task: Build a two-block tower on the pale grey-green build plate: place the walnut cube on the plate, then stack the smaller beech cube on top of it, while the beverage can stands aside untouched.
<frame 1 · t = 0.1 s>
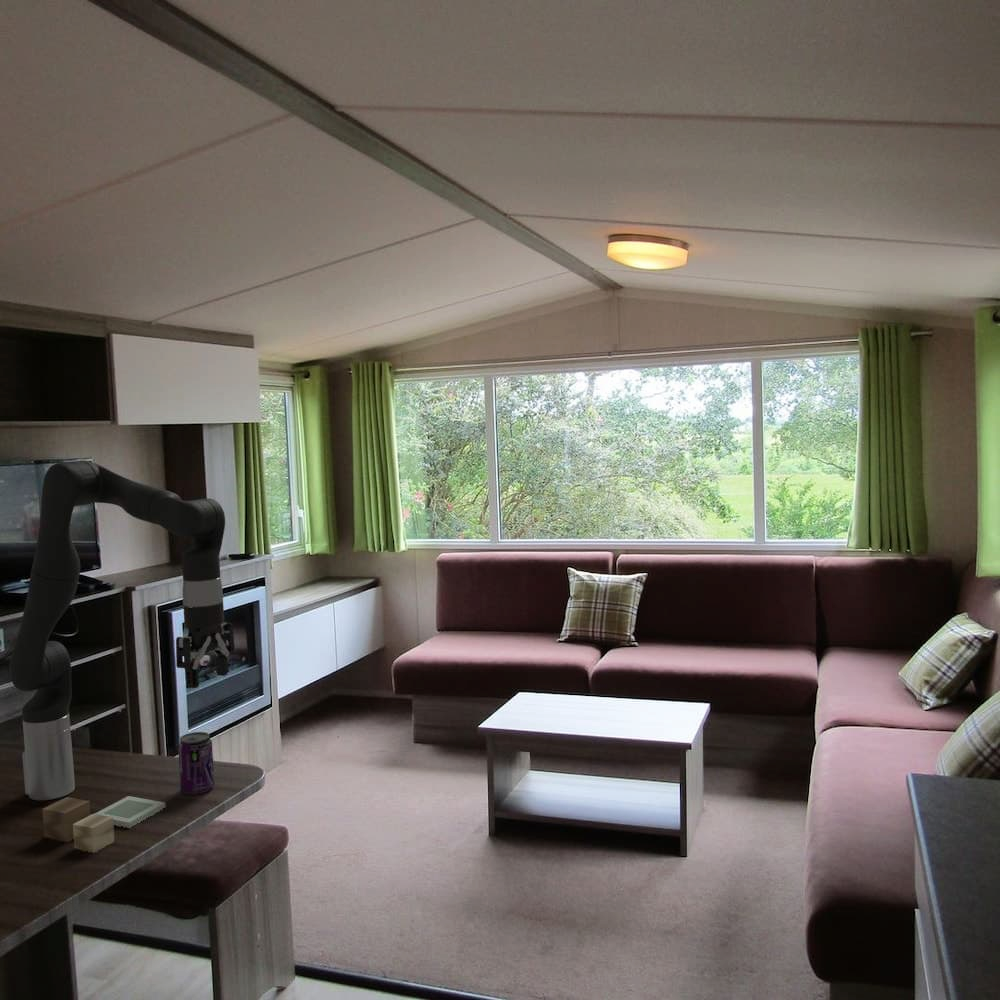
hand: (208, 681, 187), 29 cm above the table, tool pointing down, fingers open, 8 cm apart
walnut cube: (68, 834, 187), on the table
build plate: (129, 814, 195), on the table
beverage can: (198, 790, 207), on the table
beech cube: (94, 845, 182), on the table
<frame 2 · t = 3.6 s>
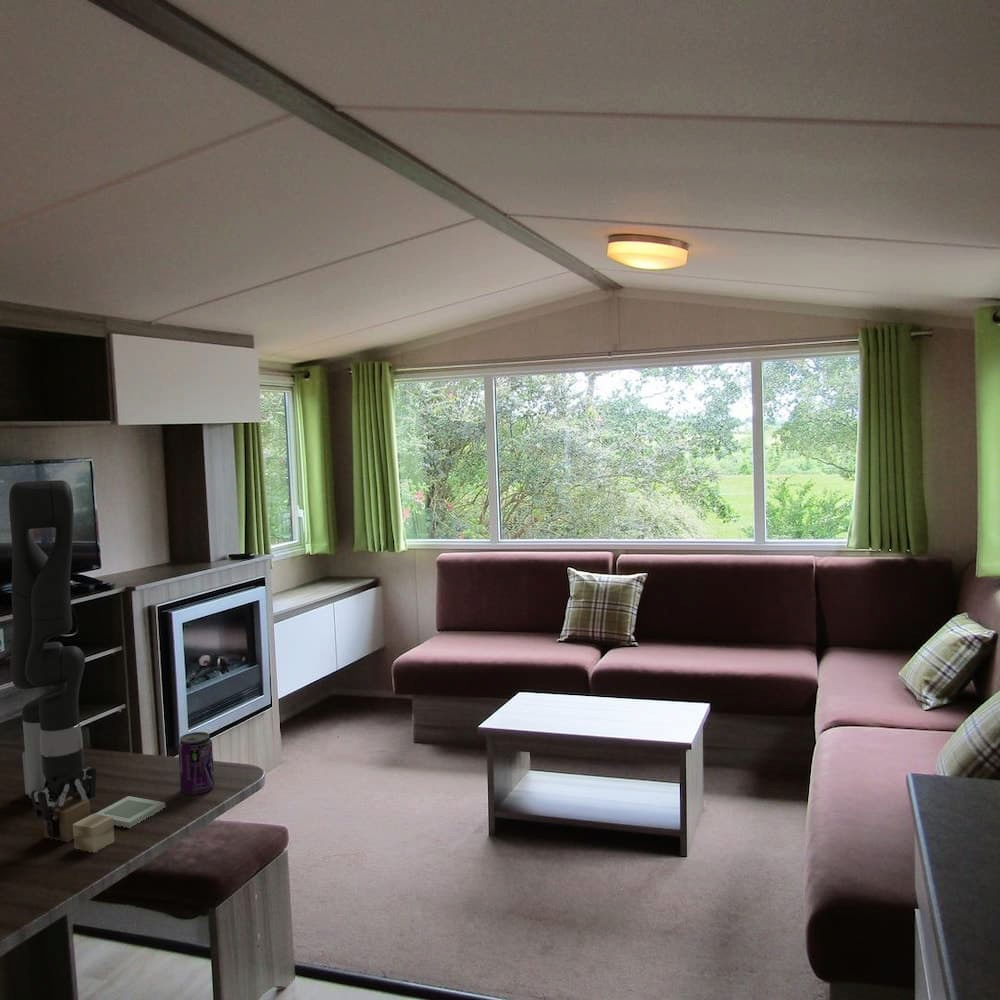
hand: (68, 829, 187), 1 cm above the table, tool pointing down, fingers closed on walnut cube, 6 cm apart
walnut cube: (68, 833, 187), on the table, touching gripper
everything else where it was.
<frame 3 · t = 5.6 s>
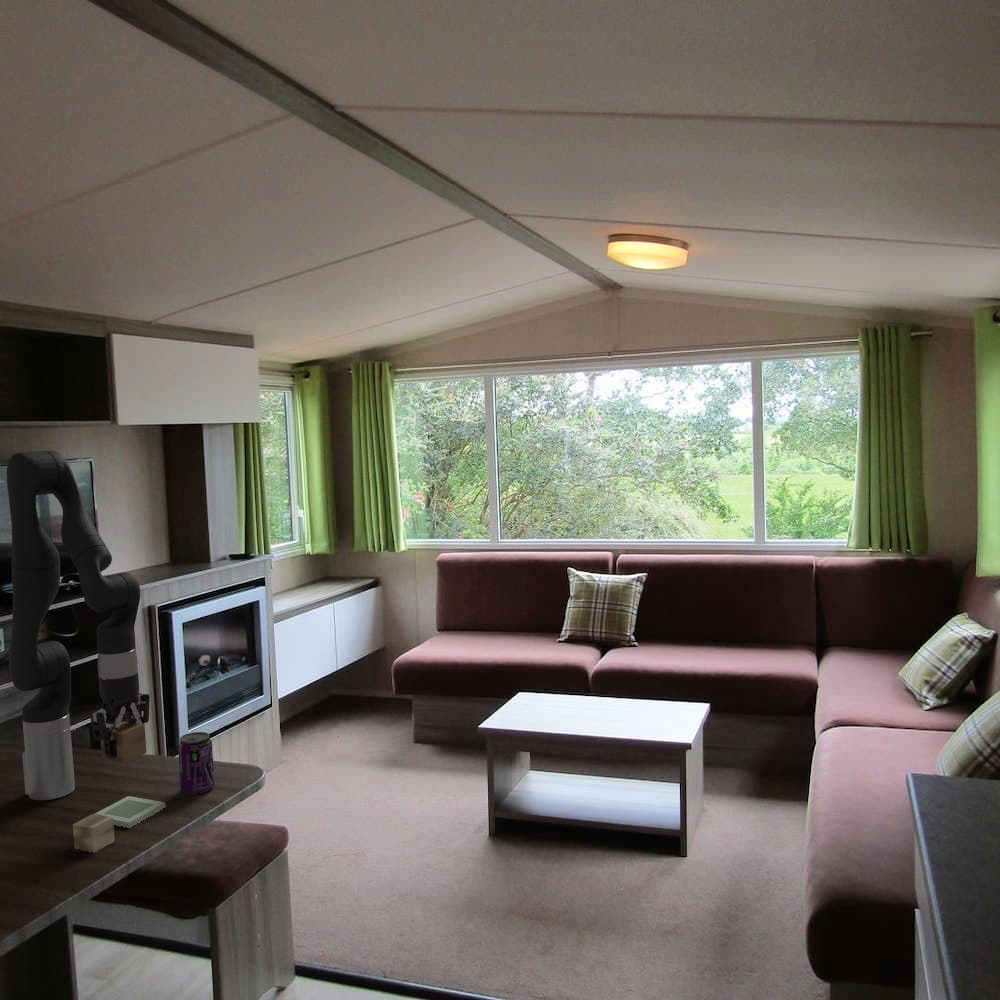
hand: (123, 751, 194), 14 cm above the table, tool pointing down, fingers closed on walnut cube, 6 cm apart
walnut cube: (124, 755, 194), point 13 cm above the table, touching gripper
everything else where it was.
when the fingers open (3 cm above the table, at t = 8.1 s): walnut cube stays where it is, resting on build plate.
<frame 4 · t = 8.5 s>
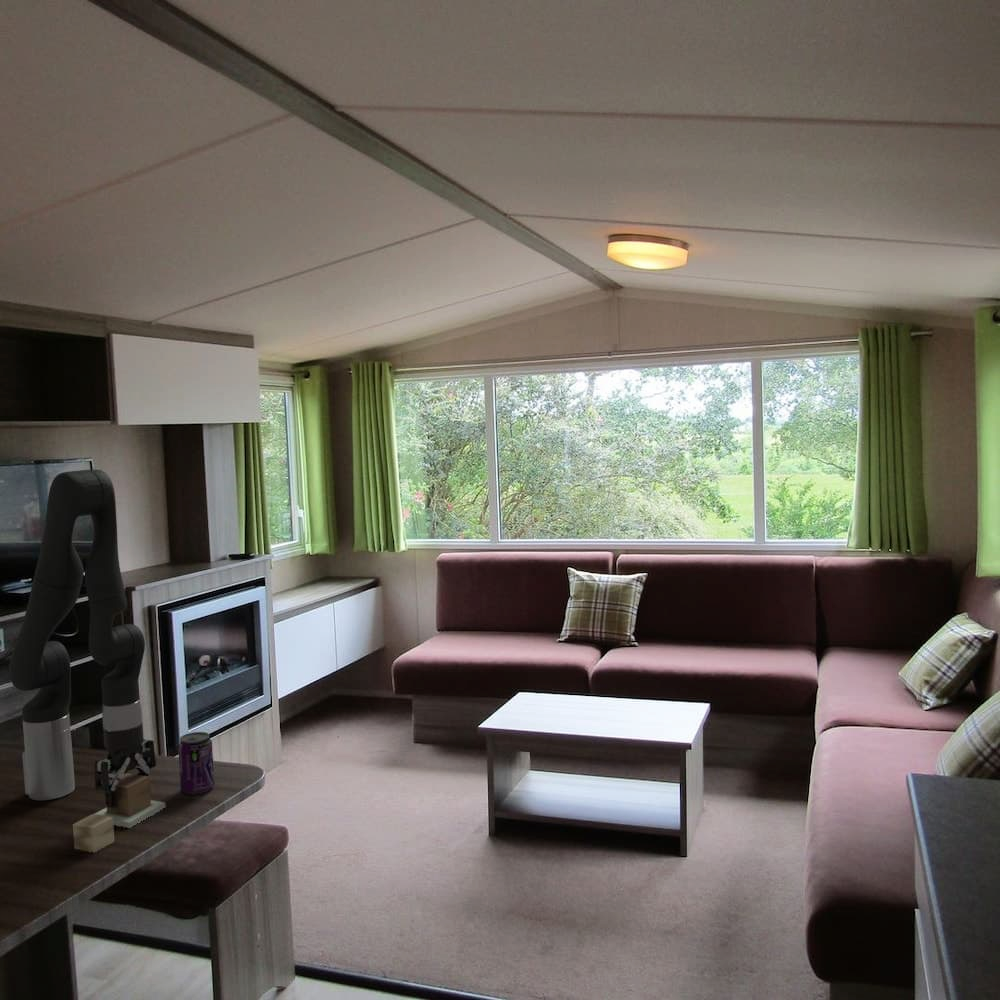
hand: (128, 799, 195), 3 cm above the table, tool pointing down, fingers open, 8 cm apart
walnut cube: (129, 808, 195), point 1 cm above the table, touching build plate
everything else where it was.
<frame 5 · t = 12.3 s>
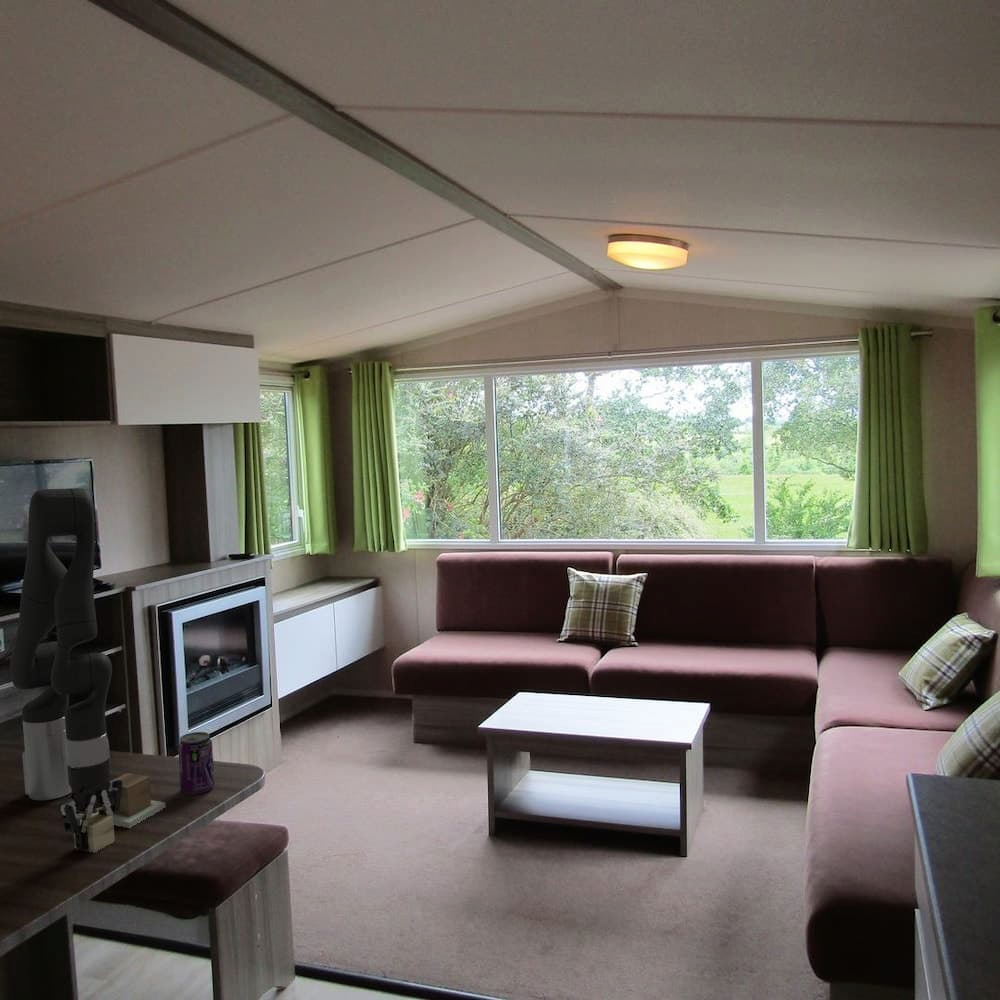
hand: (94, 842, 182), 0 cm above the table, tool pointing down, fingers closed on beech cube, 5 cm apart
beech cube: (94, 845, 182), on the table, touching gripper
everything else where it was.
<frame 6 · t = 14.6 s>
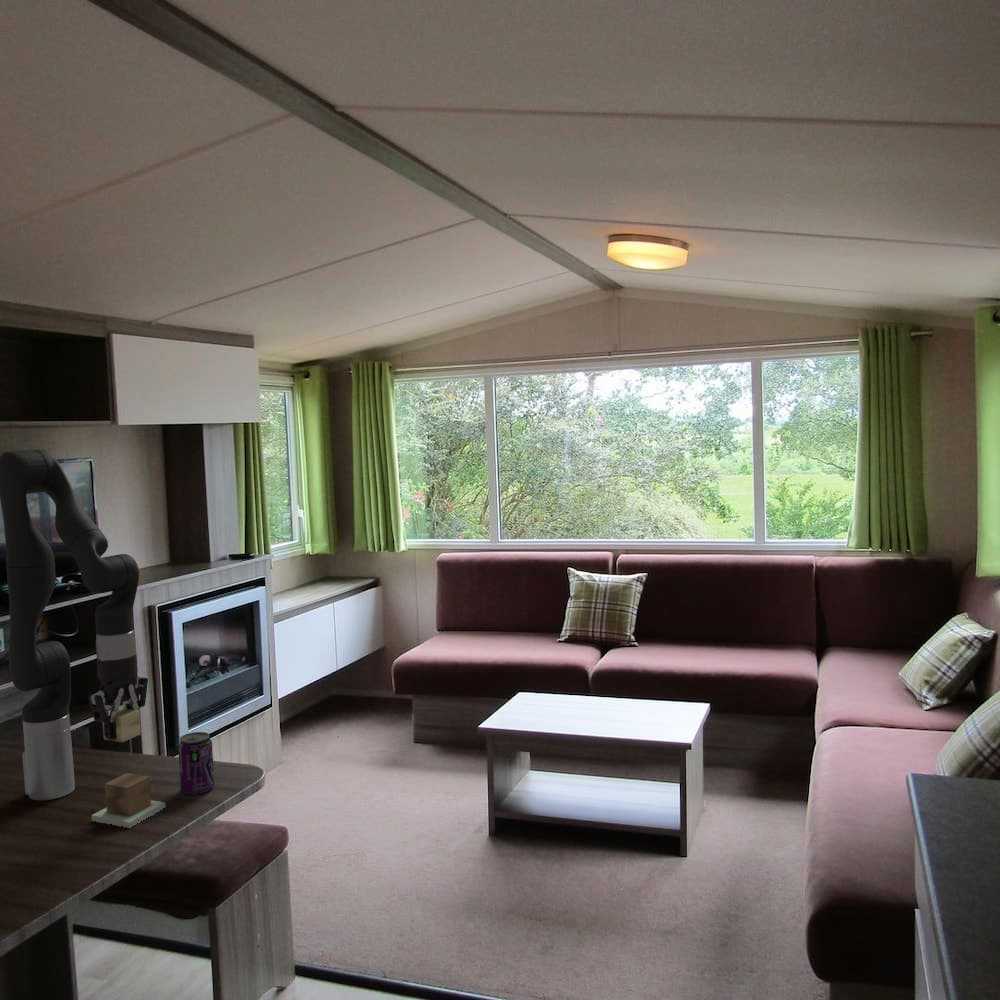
hand: (121, 734, 193), 17 cm above the table, tool pointing down, fingers closed on beech cube, 5 cm apart
beech cube: (122, 736, 193), point 17 cm above the table, touching gripper
everything else where it was.
when the fingers open (9 cm above the table, at t = 17.1 s): beech cube stays where it is, resting on walnut cube.
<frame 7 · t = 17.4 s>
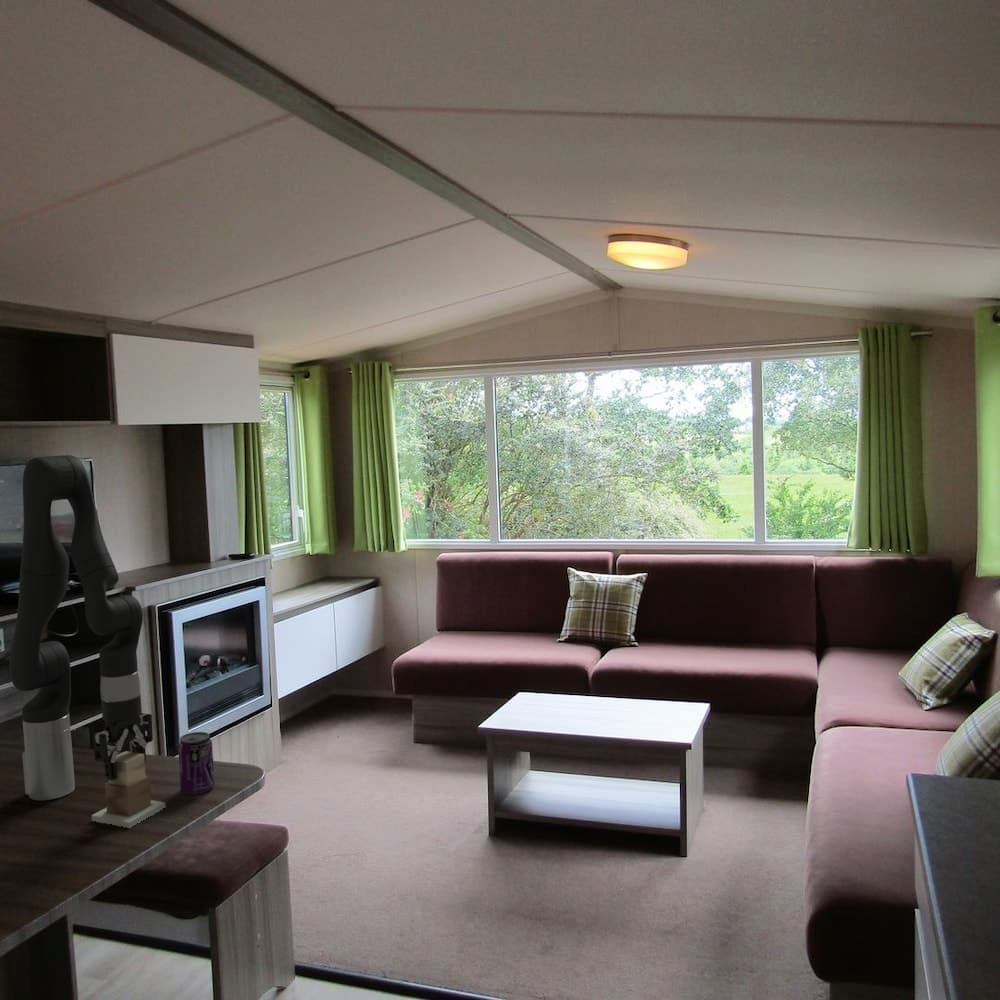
hand: (126, 772, 194), 9 cm above the table, tool pointing down, fingers open, 7 cm apart
walnut cube: (129, 808, 195), point 1 cm above the table, touching beech cube, build plate
beech cube: (127, 780, 194), point 7 cm above the table, touching walnut cube
everything else where it was.
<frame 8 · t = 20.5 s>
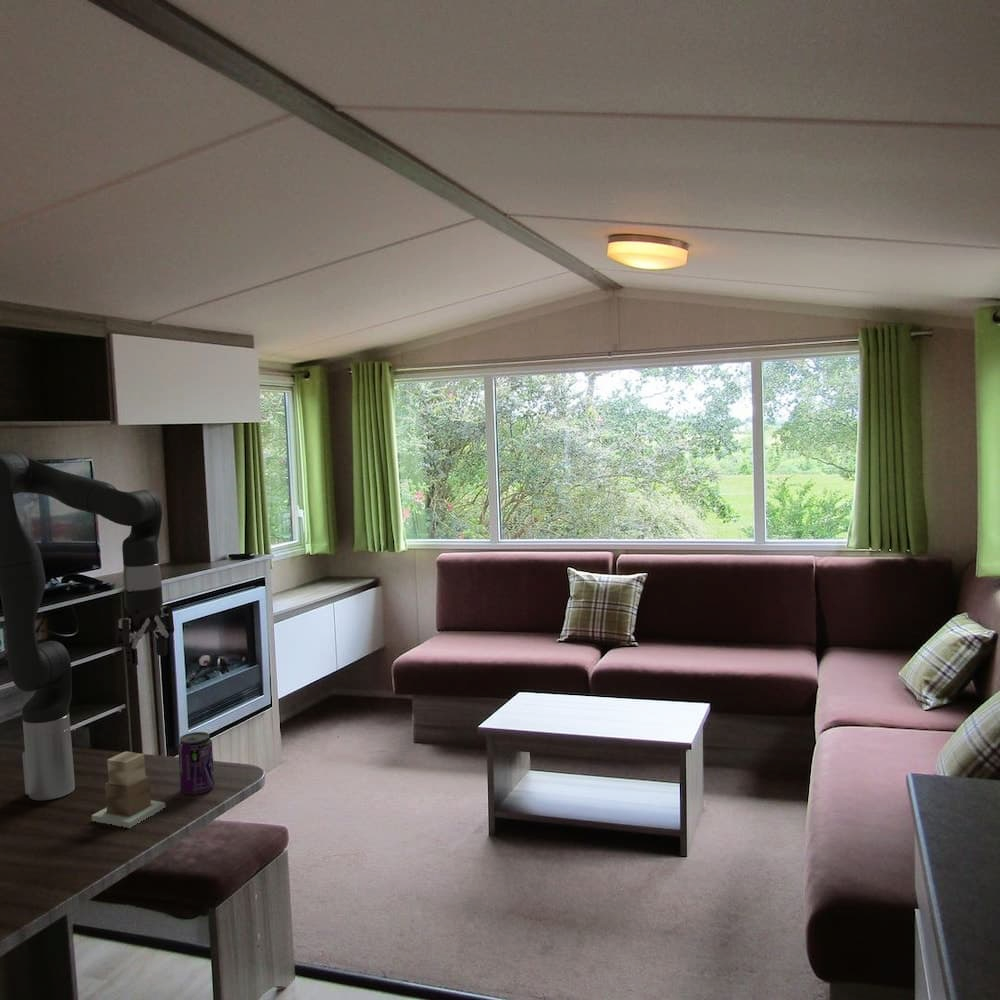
hand: (147, 660, 201), 30 cm above the table, tool pointing down, fingers open, 8 cm apart
nothing on the table moved.
at the end: walnut cube inside the target area on the build plate (0.1 cm from its centre), point 1.3 cm above the build plate's base; beech cube 0.1 cm off-centre on the walnut cube, point 6.0 cm above the walnut cube's base; the gripper is holding nothing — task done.
